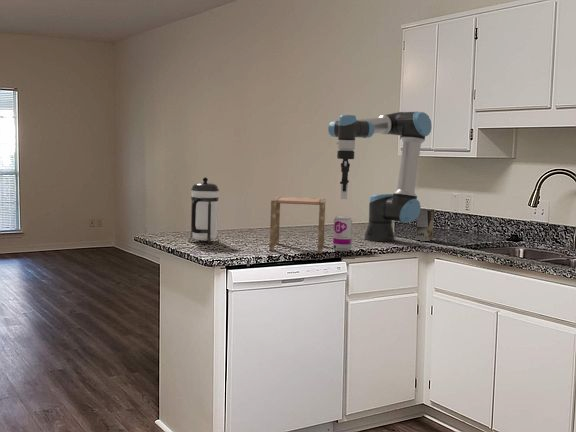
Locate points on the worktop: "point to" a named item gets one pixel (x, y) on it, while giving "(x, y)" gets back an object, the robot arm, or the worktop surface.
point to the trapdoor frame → (276, 223)
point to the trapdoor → (299, 201)
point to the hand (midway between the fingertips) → (343, 198)
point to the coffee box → (425, 225)
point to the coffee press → (204, 211)
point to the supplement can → (342, 233)
